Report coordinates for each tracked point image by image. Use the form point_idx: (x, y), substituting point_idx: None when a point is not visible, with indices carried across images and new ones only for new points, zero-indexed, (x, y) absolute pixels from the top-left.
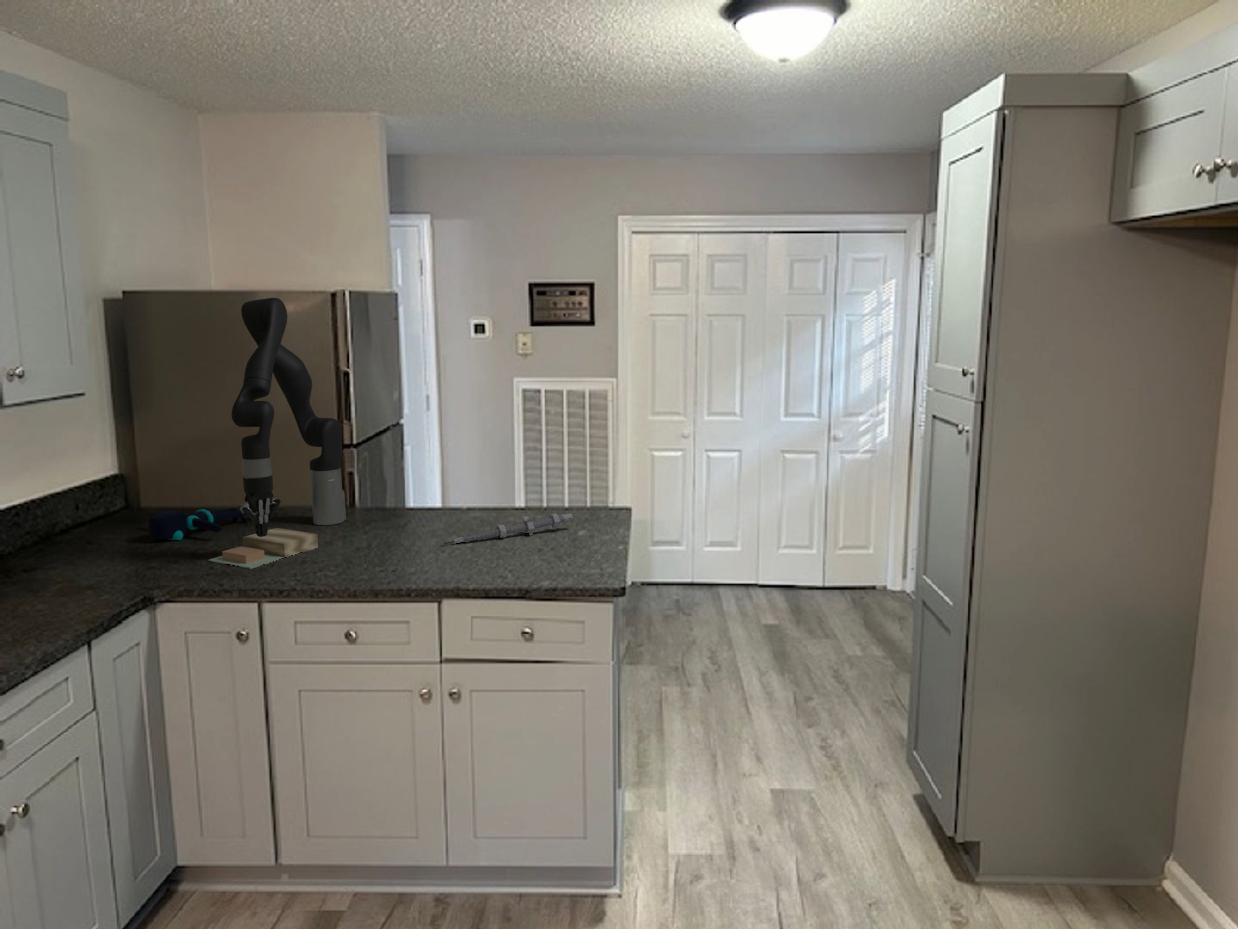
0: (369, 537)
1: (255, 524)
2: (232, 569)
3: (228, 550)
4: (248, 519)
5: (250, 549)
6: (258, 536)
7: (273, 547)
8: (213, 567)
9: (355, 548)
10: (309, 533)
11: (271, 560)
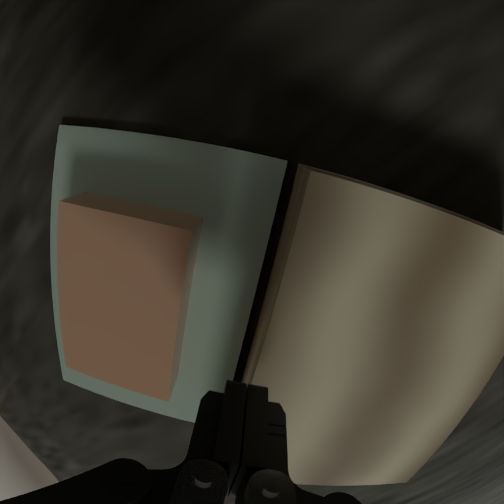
0: (486, 459)
1: (184, 460)
2: (32, 318)
3: (83, 223)
4: (95, 484)
5: (148, 338)
6: (225, 385)
7: None
8: (14, 227)
9: (379, 498)
10: (418, 463)
11: (161, 411)
